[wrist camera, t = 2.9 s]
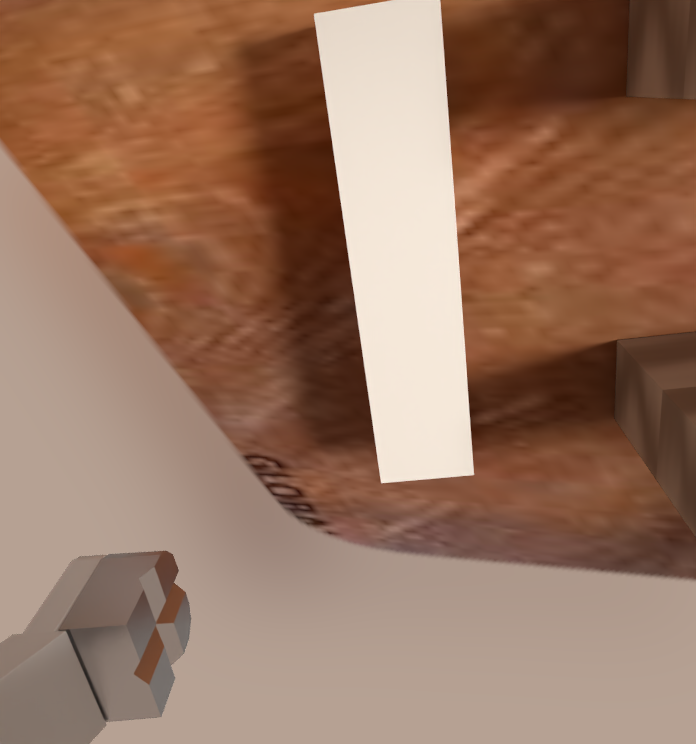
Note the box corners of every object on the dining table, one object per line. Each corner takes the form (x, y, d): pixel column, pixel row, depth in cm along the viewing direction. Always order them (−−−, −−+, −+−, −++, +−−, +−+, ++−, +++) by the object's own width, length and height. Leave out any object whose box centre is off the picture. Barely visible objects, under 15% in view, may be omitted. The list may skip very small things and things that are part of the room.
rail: (324, 25, 24) (313, 13, 20) (431, 7, 23) (439, -8, 19) (381, 436, 31) (381, 483, 27) (463, 428, 30) (473, 475, 27)
